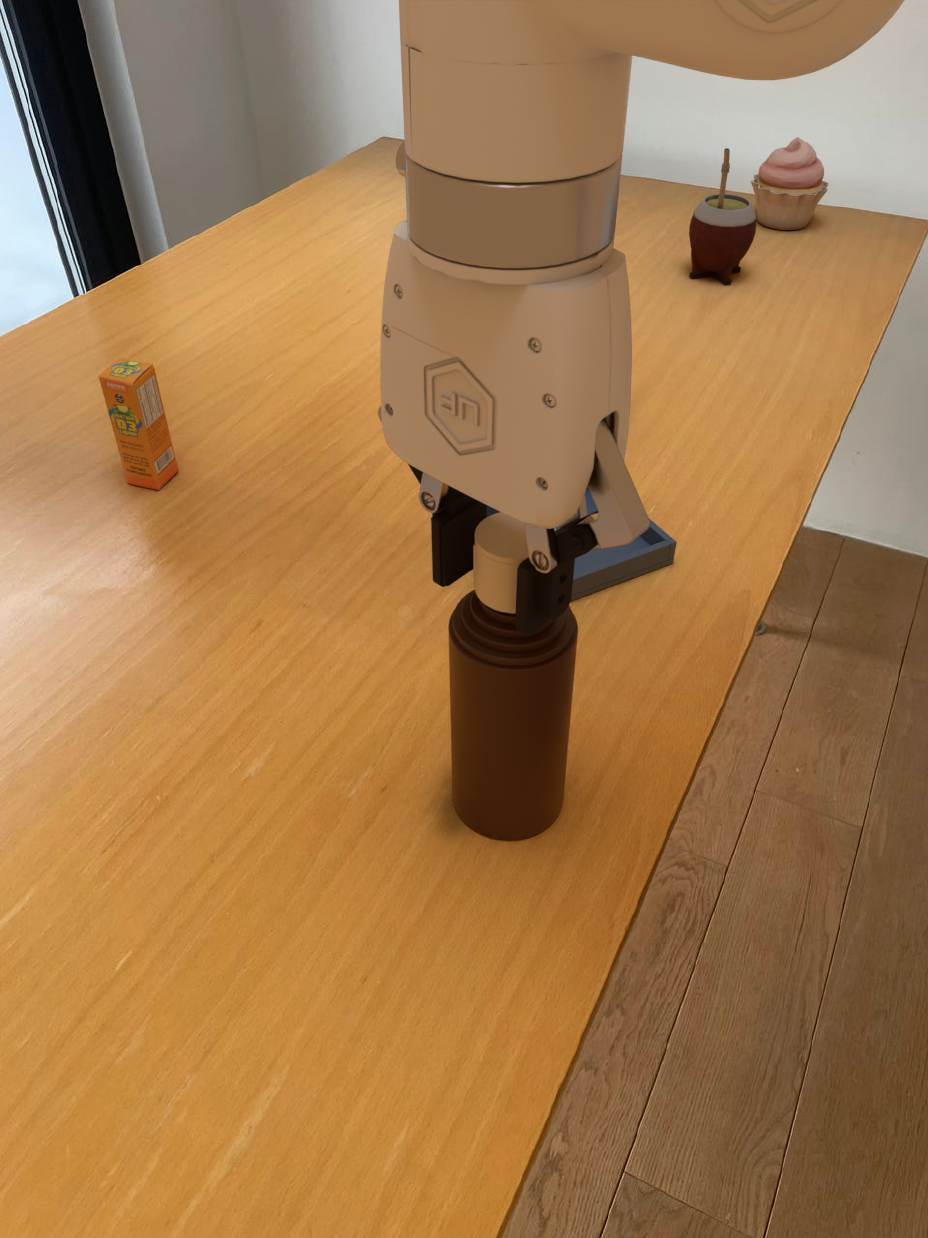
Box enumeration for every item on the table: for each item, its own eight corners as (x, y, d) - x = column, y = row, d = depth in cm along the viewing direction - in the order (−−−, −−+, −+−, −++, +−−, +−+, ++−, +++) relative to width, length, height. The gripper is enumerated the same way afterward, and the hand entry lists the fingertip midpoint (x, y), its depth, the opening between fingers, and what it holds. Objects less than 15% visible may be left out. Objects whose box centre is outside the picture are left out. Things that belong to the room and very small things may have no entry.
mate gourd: (726, 258, 117) (751, 119, 107) (762, 285, 112) (791, 141, 102) (668, 266, 116) (688, 126, 106) (702, 294, 110) (726, 148, 100)
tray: (588, 488, 82) (590, 467, 81) (673, 563, 75) (677, 541, 73) (444, 535, 77) (444, 513, 76) (520, 620, 70) (521, 598, 68)
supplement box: (123, 485, 82) (93, 373, 75) (147, 463, 85) (120, 353, 78) (158, 493, 81) (131, 381, 75) (181, 471, 84) (157, 360, 77)
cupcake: (728, 215, 128) (742, 130, 121) (787, 204, 131) (805, 121, 124) (774, 240, 121) (792, 153, 115) (836, 228, 124) (857, 142, 118)
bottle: (525, 738, 62) (536, 491, 50) (585, 811, 57) (613, 559, 46) (432, 779, 59) (422, 529, 47) (488, 858, 55) (491, 604, 43)
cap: (477, 616, 47) (477, 561, 45) (469, 566, 50) (469, 512, 47) (560, 611, 47) (563, 556, 45) (547, 561, 50) (550, 507, 48)
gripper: (276, 176, 38) (321, 557, 50) (648, 304, 30) (595, 726, 42) (415, 132, 42) (426, 494, 54) (776, 233, 34) (693, 636, 46)
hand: (499, 592), depth 48 cm, fingers open, 4 cm apart
